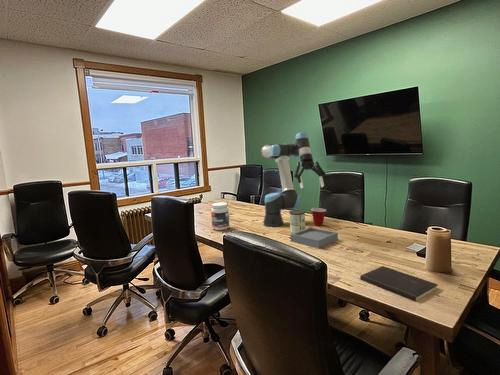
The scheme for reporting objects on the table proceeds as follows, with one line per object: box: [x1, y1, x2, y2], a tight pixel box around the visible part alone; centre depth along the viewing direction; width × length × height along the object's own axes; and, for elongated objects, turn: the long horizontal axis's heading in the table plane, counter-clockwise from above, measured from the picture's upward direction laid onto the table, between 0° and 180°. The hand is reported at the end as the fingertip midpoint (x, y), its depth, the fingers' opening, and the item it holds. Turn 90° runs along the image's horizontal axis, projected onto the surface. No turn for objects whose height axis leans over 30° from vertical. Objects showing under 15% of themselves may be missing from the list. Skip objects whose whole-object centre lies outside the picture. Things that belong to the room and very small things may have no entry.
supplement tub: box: [210, 202, 230, 231], centre depth 214 cm, size 13×13×18 cm
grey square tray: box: [289, 226, 339, 249], centre depth 177 cm, size 20×20×4 cm
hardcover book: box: [359, 265, 439, 303], centre depth 117 cm, size 16×23×2 cm
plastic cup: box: [310, 207, 327, 227], centre depth 210 cm, size 11×11×12 cm
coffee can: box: [289, 209, 306, 234], centre depth 195 cm, size 10×10×14 cm
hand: (312, 187), depth 176 cm, fingers open, 13 cm apart
